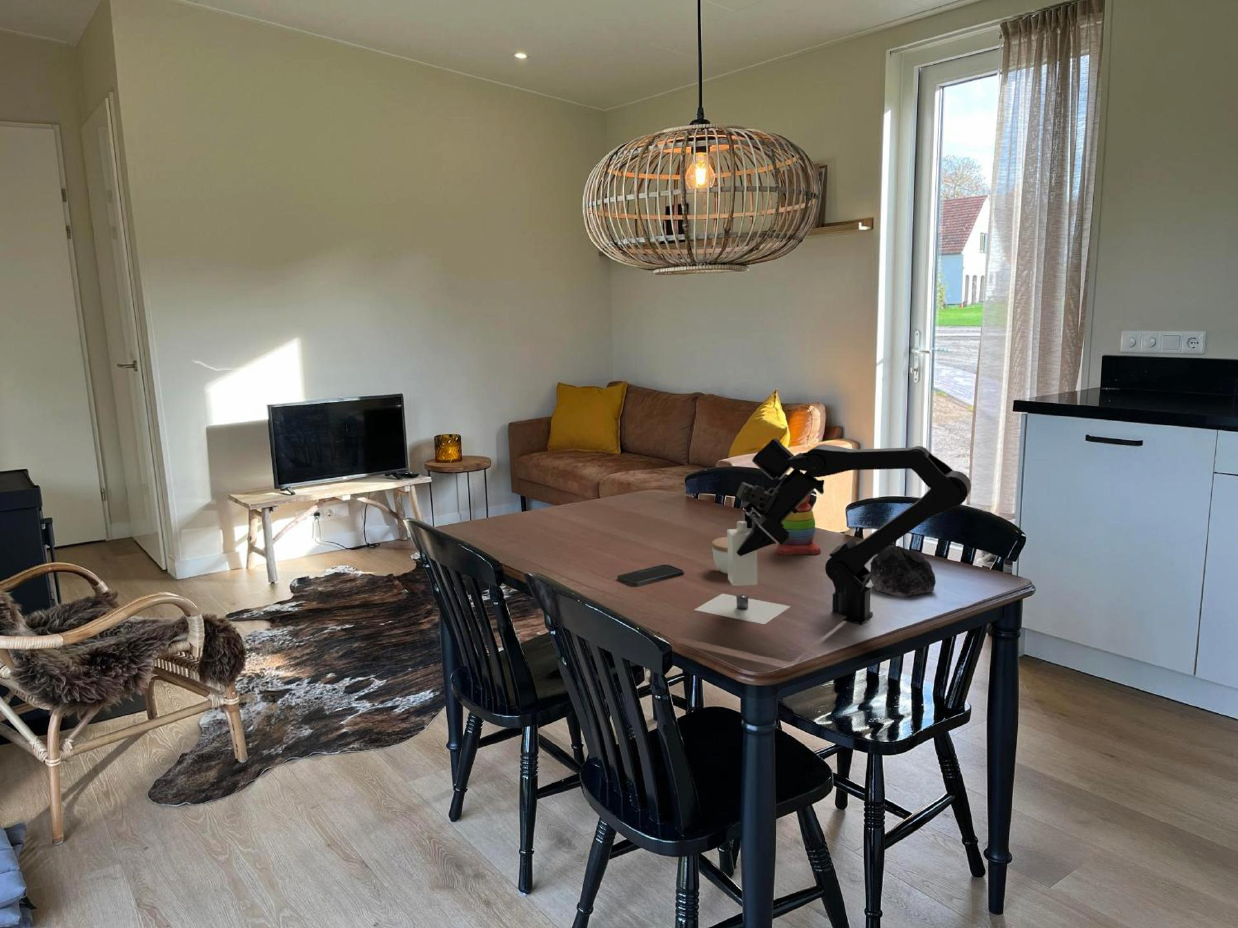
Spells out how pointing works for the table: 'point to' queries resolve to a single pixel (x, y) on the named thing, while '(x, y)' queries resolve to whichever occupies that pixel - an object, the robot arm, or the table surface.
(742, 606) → the metal post
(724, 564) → the lidded jar
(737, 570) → the white knobbed block
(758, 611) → the stone board
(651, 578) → the phone
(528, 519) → the table surface
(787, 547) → the stacking bear
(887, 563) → the dark rough rock
